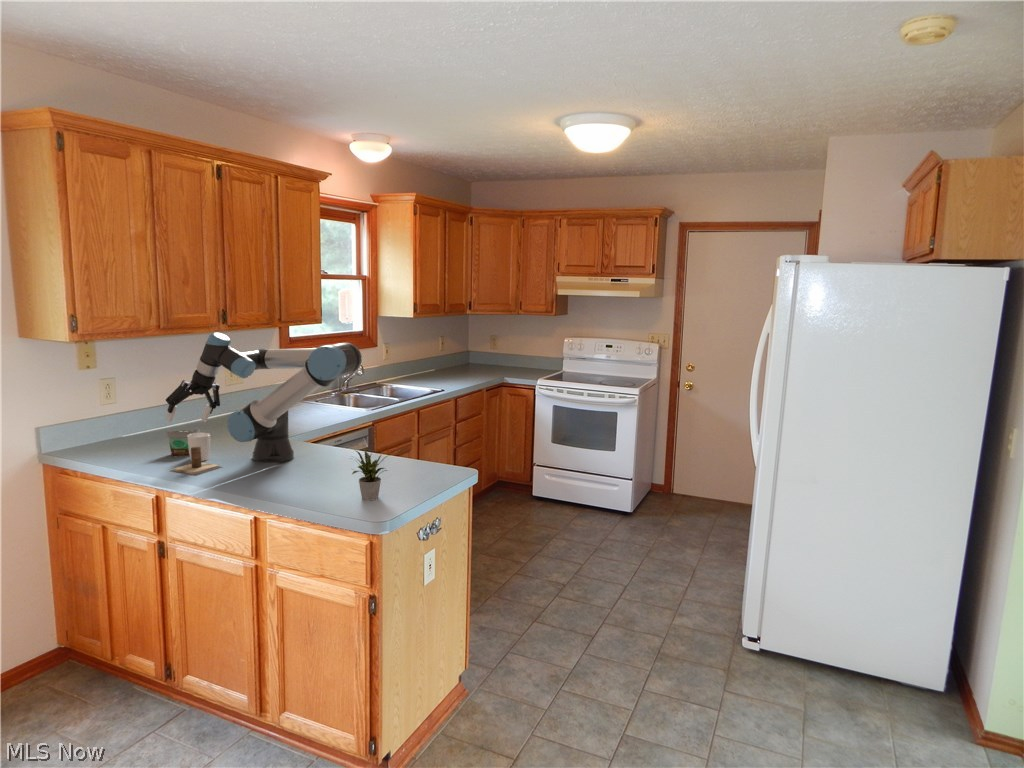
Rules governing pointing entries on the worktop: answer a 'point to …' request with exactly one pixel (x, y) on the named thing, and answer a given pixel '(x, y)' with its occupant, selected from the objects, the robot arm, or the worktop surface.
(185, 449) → the food container
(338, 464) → the worktop surface
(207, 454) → the white cup
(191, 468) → the lid
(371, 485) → the house plant
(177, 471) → the mat
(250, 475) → the worktop surface
